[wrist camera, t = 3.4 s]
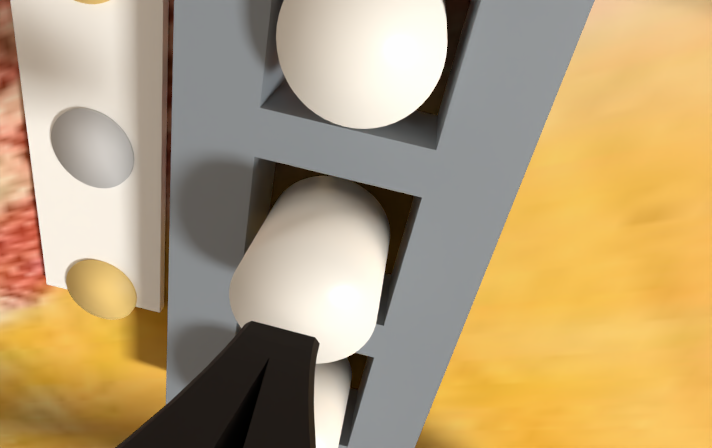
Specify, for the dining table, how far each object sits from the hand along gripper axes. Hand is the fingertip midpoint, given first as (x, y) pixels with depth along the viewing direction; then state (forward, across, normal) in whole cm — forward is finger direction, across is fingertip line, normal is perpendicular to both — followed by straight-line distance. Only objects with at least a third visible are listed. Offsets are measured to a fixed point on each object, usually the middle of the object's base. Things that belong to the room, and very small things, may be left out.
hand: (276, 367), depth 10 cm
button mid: (+8, 0, +2) cm, 8 cm away
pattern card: (+10, +9, +2) cm, 13 cm away
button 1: (+9, 0, -5) cm, 11 cm away
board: (+10, 0, +2) cm, 10 cm away
